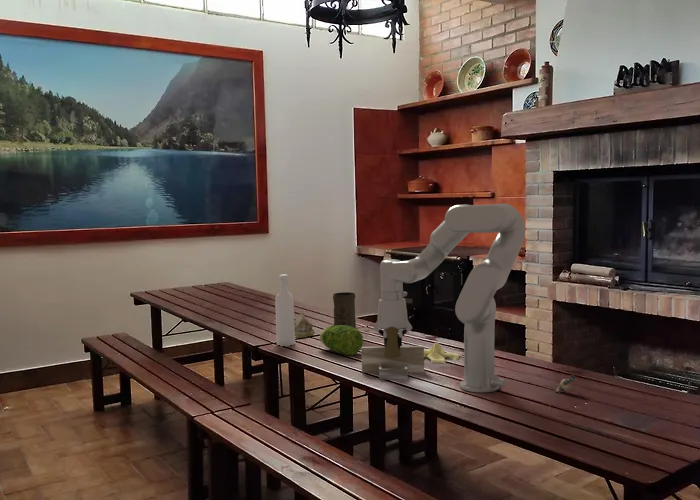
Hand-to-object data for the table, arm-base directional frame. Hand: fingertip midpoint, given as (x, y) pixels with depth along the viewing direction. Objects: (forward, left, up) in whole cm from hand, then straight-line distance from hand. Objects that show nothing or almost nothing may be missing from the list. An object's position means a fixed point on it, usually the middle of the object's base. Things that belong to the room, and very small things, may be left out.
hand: (393, 347), depth 222 cm
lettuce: (+38, -17, -10) cm, 43 cm away
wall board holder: (+1, -1, -10) cm, 10 cm away
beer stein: (+55, -42, -10) cm, 70 cm away
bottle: (+66, -15, -10) cm, 68 cm away
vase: (-55, -15, -10) cm, 58 cm away
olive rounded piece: (0, 0, -3) cm, 3 cm away
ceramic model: (+74, -35, -11) cm, 82 cm away
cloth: (+2, -30, -11) cm, 32 cm away
